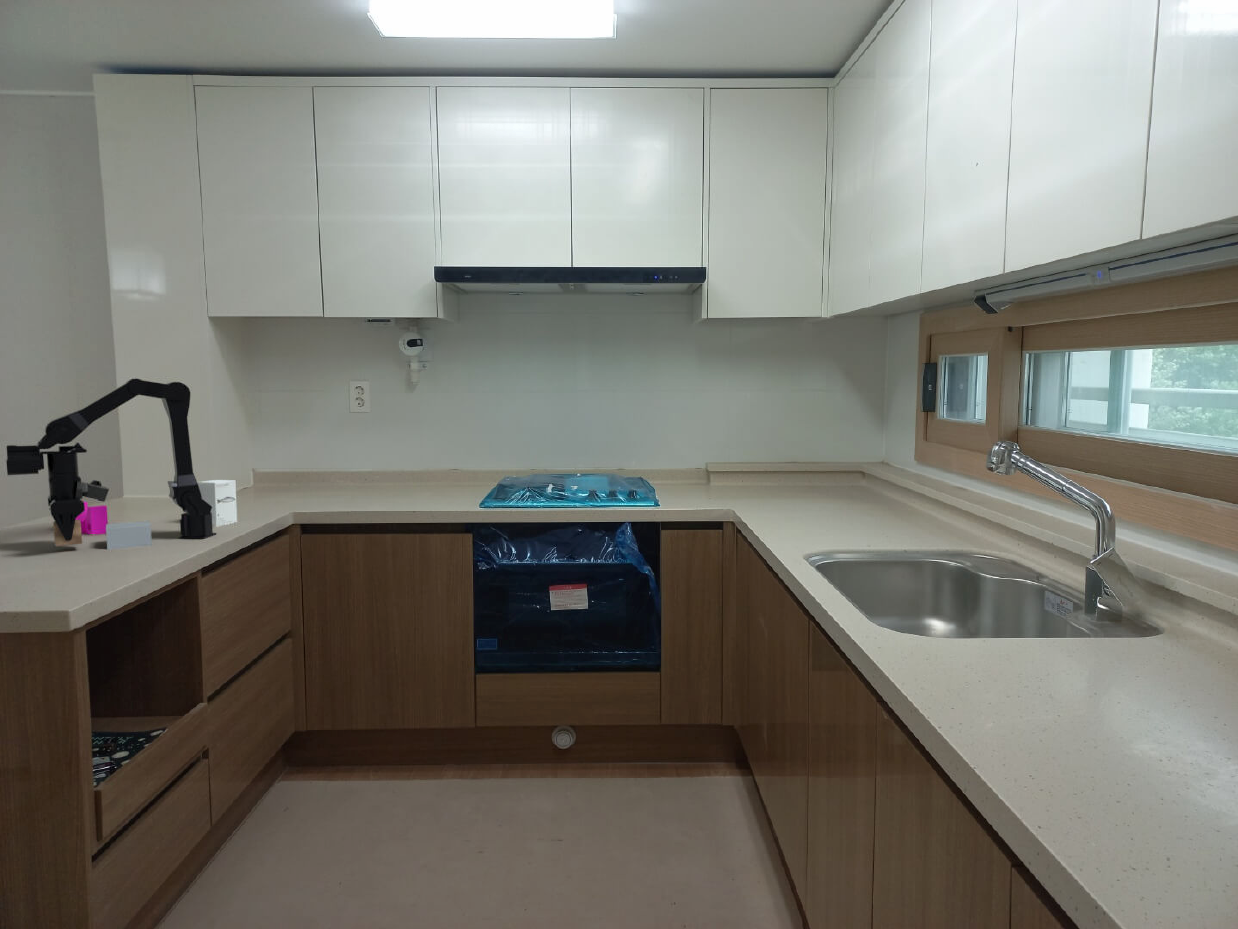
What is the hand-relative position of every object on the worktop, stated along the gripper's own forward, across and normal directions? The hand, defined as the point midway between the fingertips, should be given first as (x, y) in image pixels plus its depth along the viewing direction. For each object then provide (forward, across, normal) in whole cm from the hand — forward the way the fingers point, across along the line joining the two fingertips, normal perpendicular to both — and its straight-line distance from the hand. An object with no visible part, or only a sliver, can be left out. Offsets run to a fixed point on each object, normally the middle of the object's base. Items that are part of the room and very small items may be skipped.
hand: (68, 538), depth 178 cm
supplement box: (+3, +16, -35) cm, 38 cm away
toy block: (+3, +27, -4) cm, 28 cm away
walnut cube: (+1, 0, 0) cm, 1 cm away
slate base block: (+3, 0, -12) cm, 12 cm away
